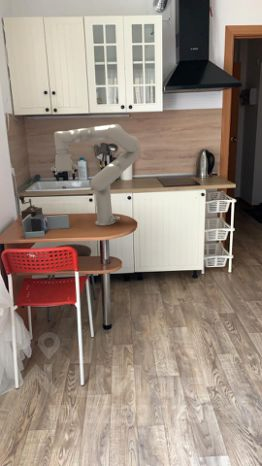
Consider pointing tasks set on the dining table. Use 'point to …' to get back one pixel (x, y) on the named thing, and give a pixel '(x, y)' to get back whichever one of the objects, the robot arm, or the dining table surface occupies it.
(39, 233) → the shelf
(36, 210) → the coffee grinder
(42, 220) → the small box
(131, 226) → the dining table surface
